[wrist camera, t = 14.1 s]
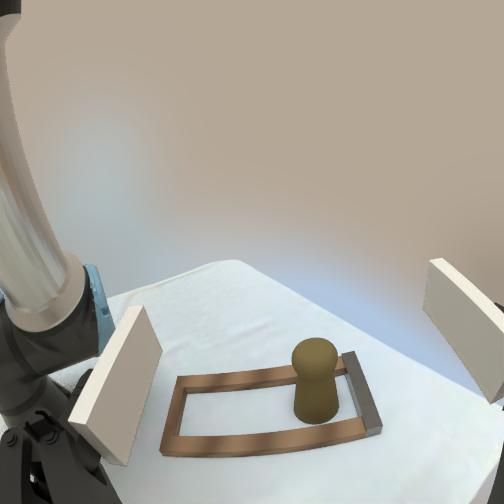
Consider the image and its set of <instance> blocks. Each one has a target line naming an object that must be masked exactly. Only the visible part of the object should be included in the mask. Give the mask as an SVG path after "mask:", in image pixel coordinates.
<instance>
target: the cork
mask: <svg viewBox="0 0 504 504" xmlns="http://www.w3.org/2000/svg"><path fill="white" fill-rule="evenodd" d="M337 362H338V354H337V350H336V348H335V346H334V345H333V344H332V343H331V342H330V341H328V340H326V339H323V338H309V339H306V340H304V341H302V342H300V343H299V344H298V345H297V346H296V347H295V349H294V351H293V353H292V366H293V368H294V370H295V372H296V373H297V381H296V391H295V400H294V413H295V415H296V416H297V417H298V419H299V420H301V421H303V422H305V423H309V424H321V423H324V422H327V421H329V420H330V419H332V418H333V417H334V416H335V415H336V413H337V412H338V408H339V403H338V396H337V390H336V383H335V377H334V372H333V371H334V370H335V368H336V365H337Z"/></svg>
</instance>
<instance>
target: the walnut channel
mask: <svg viewBox="0 0 504 504" xmlns="http://www.w3.org/2000/svg"><path fill="white" fill-rule="evenodd" d="M333 372H334V377H335V376H340V375H344V374H345V365H344V362H343V359H342V356H339V357H338V362H337V365H336V368H335V370H334V371H333ZM296 381H297V373H296V372H295V370H294V368H293V366H292V365H289V366H282V367H275V368H267V369H259V370H251V371H241V372H231V373H220V374H207V375H190V376H178V377H177V381H176V385H175V388H174V392H173V396H172V400H171V404H170V408H169V412H168V416H167V420H166V424H165V428H164V432H163V436H162V440H161V445H160V449H159V451H160V452H161V453H162V454H163V455H164V456H176V457H244V456H259V455H270V454H280V453H288V452H296V451H303V450H309V449H315V448H321V447H326V446H331V445H336V444H341V443H345V442H350V441H354V440H358V439H362V438H365V435H366V430H365V426H364V423H363V420H362V417H356V418H352V419H348V420H343V421H339V422H334V423H329V424H324V425H318V426H313V427H307V428H300V429H293V430H286V431H278V432H269V433H259V434H247V435H230V436H178V435H179V430H180V425H181V420H182V415H183V411H184V406H185V401H186V396H187V394H189V393H211V392H226V391H238V390H249V389H258V388H267V387H275V386H282V385H289V384H296Z"/></svg>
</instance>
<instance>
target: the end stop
mask: <svg viewBox="0 0 504 504" xmlns="http://www.w3.org/2000/svg"><path fill="white" fill-rule="evenodd" d="M341 356H342V359H343V362H344V365H345V376H346V379H347V382H348V385H349V388H350V391H351V394H352V398H353V401H354V404H355V407H356V410H357V414H358V417H362V420H363V423H364V426H365V430H366V435H365V438H366V437H370V436H374V435H377V434H380V433H381V430H382V427H383V425H382V422H381V419H380V416H379V414H378V411H377V408H376V405H375V403H374V400H373V397H372V395H371V392H370V389H369V387H368V384H367V382H366V379H365V376H364V374H363V371H362V369H361V366H360V364H359V361H358V359H357V356H356V354H355V351H352V352H347V353H342V354H341Z"/></svg>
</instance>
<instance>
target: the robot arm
mask: <svg viewBox="0 0 504 504" xmlns="http://www.w3.org/2000/svg"><path fill="white" fill-rule="evenodd" d="M20 19H21V0H0V288H1V290H2V291H3V292H4V294H5V299H4V295H3V294H2V293H1V292H0V414H1V415H2V417H3V419H4V421H5V423H6V425H7V427H8V430H6V431H5V432H4V434H3V435H2V437H1V441H0V504H122V502H121V501H120V499H119V497H118V495H117V493H116V492H115V490H114V488H113V486H112V484H111V482H110V480H109V478H108V476H107V474H106V472H105V470H104V468H103V466H102V465H101V464H100V463H99V461H100V458H101V456H102V457H103V458H104V459H105V460H106V461H107V462H108V463H110V464H115V465H121V466H127V464H128V460H129V457H130V453H131V449H132V446H133V442H134V439H135V436H136V432H137V429H138V426H139V422H140V419H141V416H142V412H143V409H144V406H145V403H146V400H147V396H148V393H149V390H150V387H151V384H152V381H153V378H154V375H155V372H156V369H157V366H158V363H159V360H160V357H161V354H162V351H163V350H162V348H161V346H160V344H159V341H158V339H157V337H156V334H155V332H154V330H153V327H152V325H151V323H150V320H149V318H148V315H147V313H146V310H145V308H144V305H139V306H130V307H129V308H128V309H127V311H126V313H125V314H124V316H123V318H122V319H121V321H120V323H119V324H118V326H117V328H115V325H114V322H113V319H112V316H111V313H110V310H109V307H108V304H107V300H106V296H105V293H104V290H103V286H102V283H101V280H100V276H99V273H98V270H97V267H96V266H95V265H93V264H89V265H87V264H85V265H83V266H82V264H81V262H80V261H79V259H78V258H77V257H76V256H75V255H73V254H72V253H70V252H68V251H64V250H61V249H60V246H59V244H58V242H57V240H56V238H55V235H54V233H53V231H52V229H51V226H50V224H49V221H48V219H47V217H46V214H45V211H44V209H43V206H42V204H41V201H40V198H39V196H38V193H37V190H36V188H35V185H34V182H33V179H32V176H31V173H30V170H29V167H28V164H27V160H26V157H25V153H24V150H23V146H22V143H21V139H20V135H19V131H18V127H17V123H16V118H15V114H14V109H13V104H12V99H11V93H10V87H9V81H8V73H7V66H6V56H5V42H6V40H7V37H8V36H9V34H10V33H11V32H12V30H13V29H14V27H15V26H16V24H17V23H18V22H19V21H20ZM423 311H424V312H425V313H426V315H427V316H428V317H429V319H430V320H431V321H432V322H433V324H434V325H435V326H436V327H437V329H438V330H439V331H440V333H441V334H442V335H443V337H444V338H445V339H446V341H447V342H448V343H449V345H450V346H451V347H452V349H453V350H454V352H455V353H456V355H457V356H458V357H459V358H460V360H461V362H462V363H463V364H464V366H465V367H466V369H467V370H468V372H469V373H470V375H471V376H472V378H473V379H474V381H475V382H476V384H477V385H478V387H479V388H480V390H481V391H482V393H483V394H484V396H485V397H486V399H487V401H488V402H489V404H492V403H494V402H496V401H497V400H499V399H501V398H502V397H503V396H504V307H503V306H501V305H499V304H497V303H492V302H491V301H490V300H489V299H488V298H487V297H486V296H485V295H484V294H483V293H482V292H481V291H480V290H478V289H477V288H476V287H475V286H474V285H473V284H472V283H471V282H470V281H468V280H467V279H466V278H465V277H464V276H463V275H462V274H460V273H459V272H458V271H457V270H456V269H455V268H453V267H452V266H451V265H450V264H449V263H447V262H446V261H445V260H444V259H443V258H438V259H434V260H430V261H429V267H428V275H427V284H426V290H425V297H424V303H423ZM100 355H101V356H100ZM99 356H100V358H99V360H98V362H97V364H96V365H95V367H94V369H88V370H87V371H86V372H85V373H84V374H83V375H82V376H81V377H80V379H79V381H78V383H77V385H76V388H75V389H74V390H73V392H72V393H71V392H70V391H68V390H67V389H65V388H64V387H63V386H61V385H60V384H59V383H57V382H56V381H55V380H53V379H52V378H51V377H49V376H48V374H51V373H54V372H56V371H59V370H62V369H64V368H67V367H69V366H72V365H75V364H77V363H80V362H82V361H85V360H88V359H90V358H93V357H99ZM502 410H503V411H504V407H503V409H502ZM30 474H31V475H32V476H33V477H34V482H32V481H30ZM487 504H504V443H503V448H502V453H501V457H500V462H499V466H498V470H497V474H496V477H495V481H494V484H493V488H492V491H491V494H490V497H489V500H488V503H487Z"/></svg>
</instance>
